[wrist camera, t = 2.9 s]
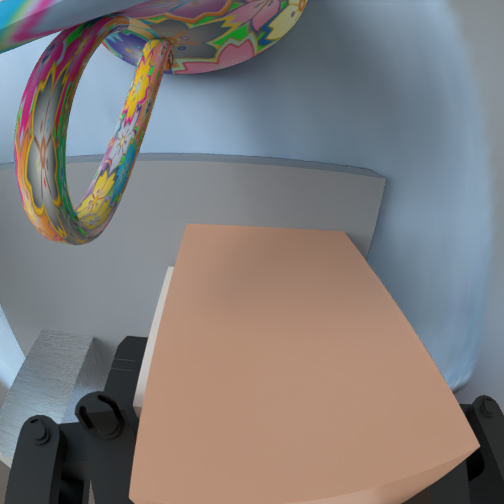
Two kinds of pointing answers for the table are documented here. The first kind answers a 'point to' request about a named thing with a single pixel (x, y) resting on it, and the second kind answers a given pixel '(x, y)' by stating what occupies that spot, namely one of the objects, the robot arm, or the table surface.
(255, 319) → the peach tan brick
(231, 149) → the table surface
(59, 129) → the mug
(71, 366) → the post
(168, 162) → the board
